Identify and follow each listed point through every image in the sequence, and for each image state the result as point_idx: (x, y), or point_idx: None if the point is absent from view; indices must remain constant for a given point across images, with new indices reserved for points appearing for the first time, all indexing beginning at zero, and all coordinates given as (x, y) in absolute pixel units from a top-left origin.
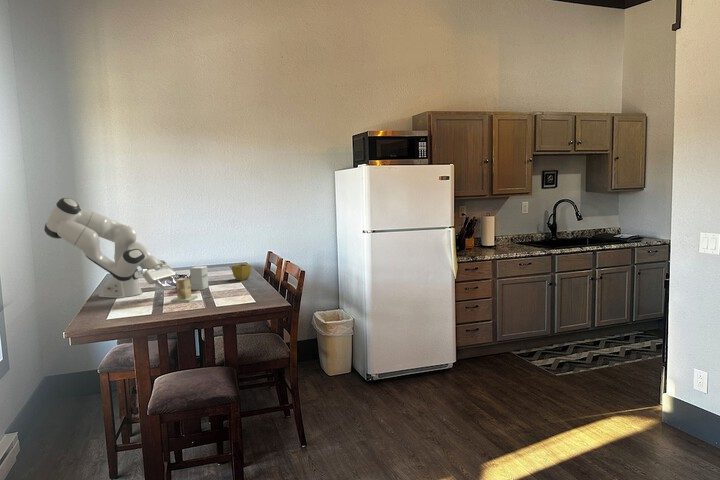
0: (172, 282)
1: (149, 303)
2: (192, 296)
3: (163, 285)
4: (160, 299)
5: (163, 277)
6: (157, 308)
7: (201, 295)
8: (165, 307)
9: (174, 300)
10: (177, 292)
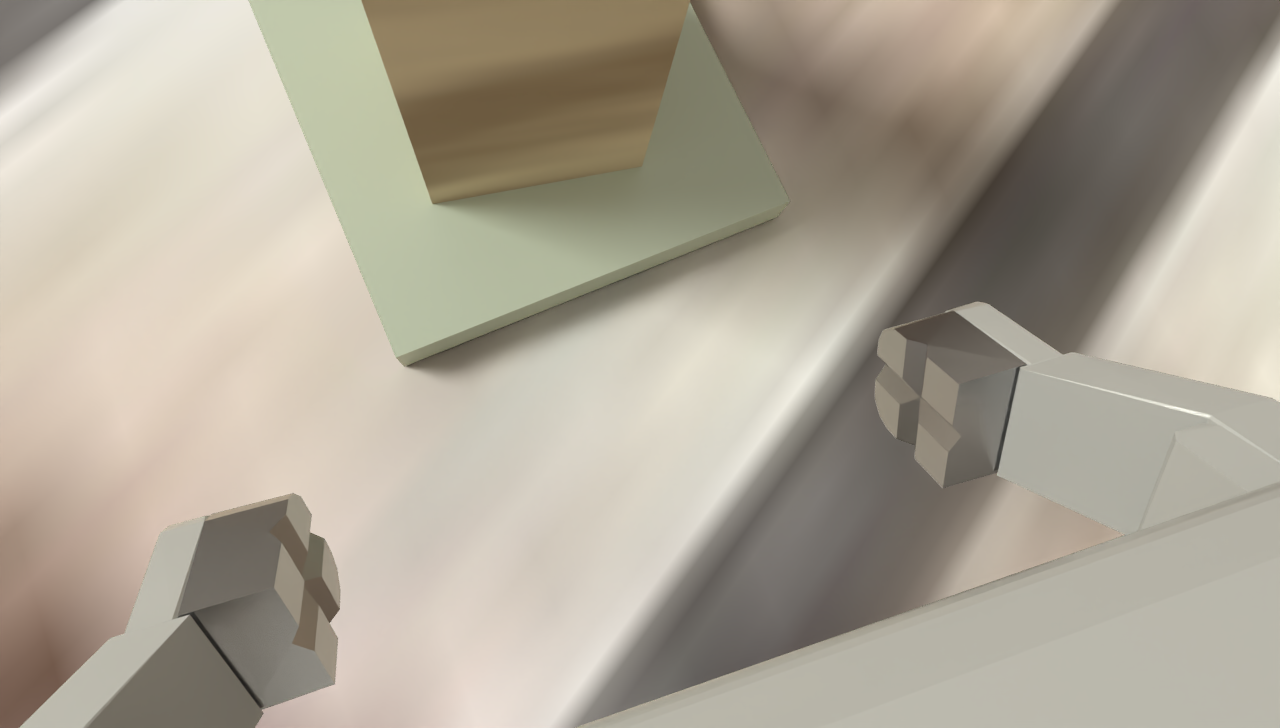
0: (300, 601)
1: (1050, 552)
2: (338, 28)
3: (985, 317)
4: (707, 671)
5: (935, 610)
6: (1172, 74)
7: (31, 75)
8: (1067, 2)
9: (753, 135)
10: (660, 75)
